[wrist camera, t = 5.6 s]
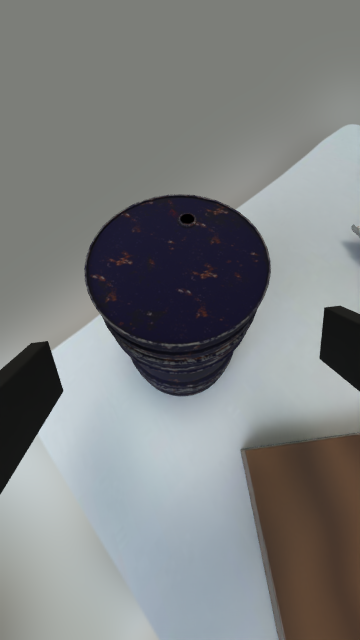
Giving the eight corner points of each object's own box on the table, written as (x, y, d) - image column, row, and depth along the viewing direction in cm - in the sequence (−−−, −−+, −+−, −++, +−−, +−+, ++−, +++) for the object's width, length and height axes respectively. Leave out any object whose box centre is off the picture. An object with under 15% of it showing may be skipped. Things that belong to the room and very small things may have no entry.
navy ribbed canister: (221, 407, 24) (266, 369, 11) (123, 386, 25) (50, 328, 12) (233, 315, 28) (277, 203, 15) (148, 301, 29) (116, 183, 16)
